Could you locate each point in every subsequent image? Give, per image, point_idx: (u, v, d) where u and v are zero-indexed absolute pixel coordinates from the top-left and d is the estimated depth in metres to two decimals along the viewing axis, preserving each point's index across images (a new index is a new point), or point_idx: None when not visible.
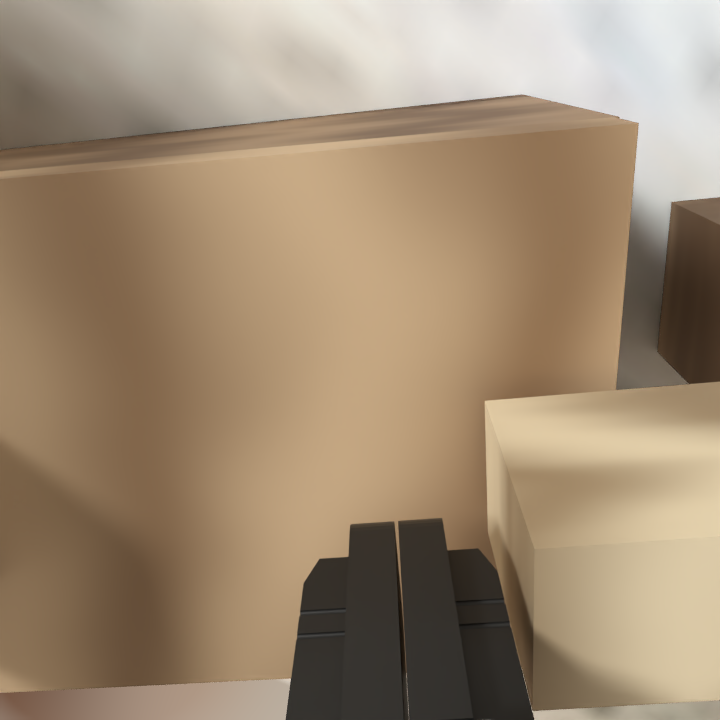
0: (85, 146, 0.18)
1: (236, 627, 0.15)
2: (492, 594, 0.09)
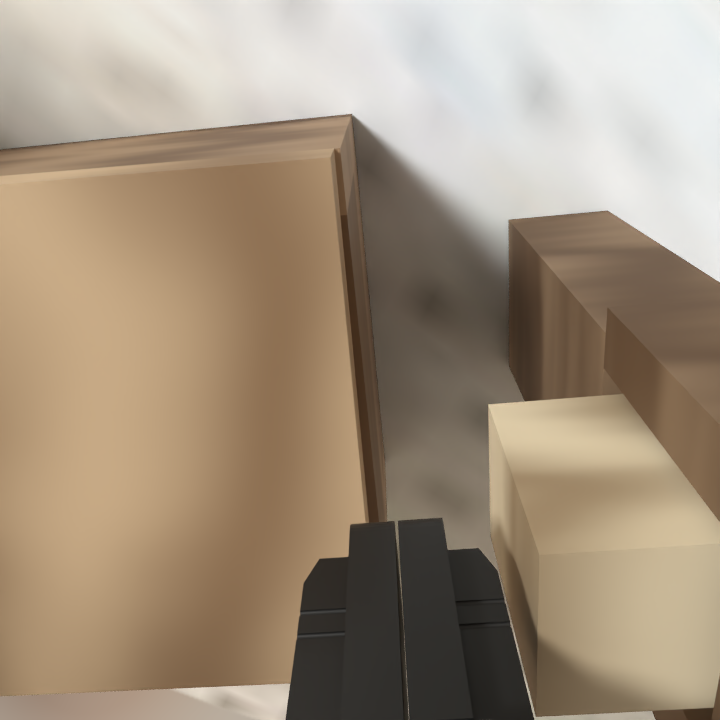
0: None
1: (25, 642, 0.15)
2: (492, 594, 0.09)
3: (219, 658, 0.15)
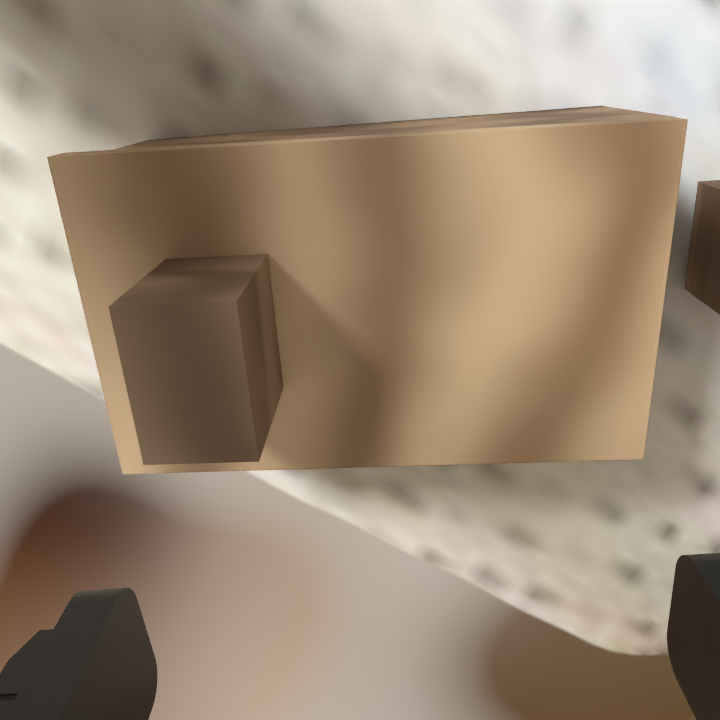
0: (319, 130, 0.27)
1: (423, 425, 0.24)
2: None
3: (543, 440, 0.25)
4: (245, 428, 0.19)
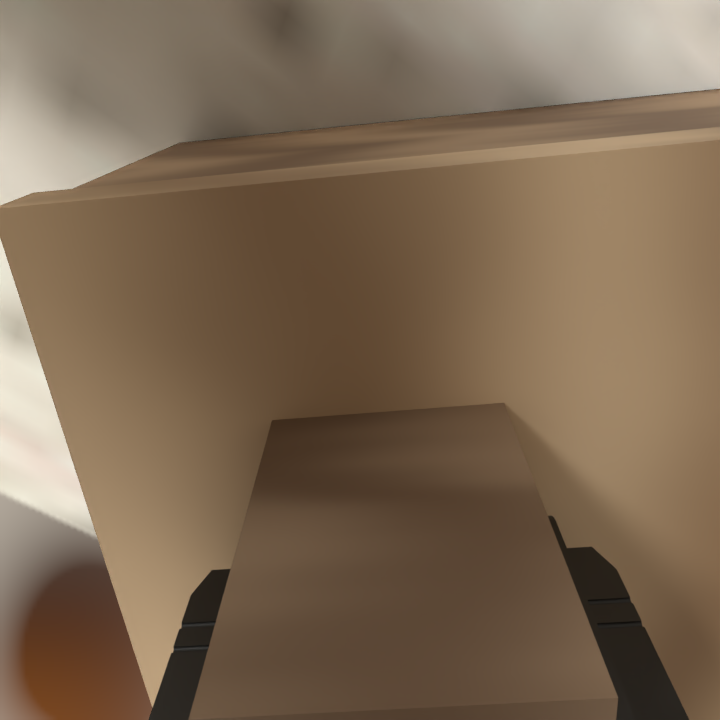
0: (500, 118, 0.15)
1: None
2: (617, 593, 0.09)
3: None
4: None
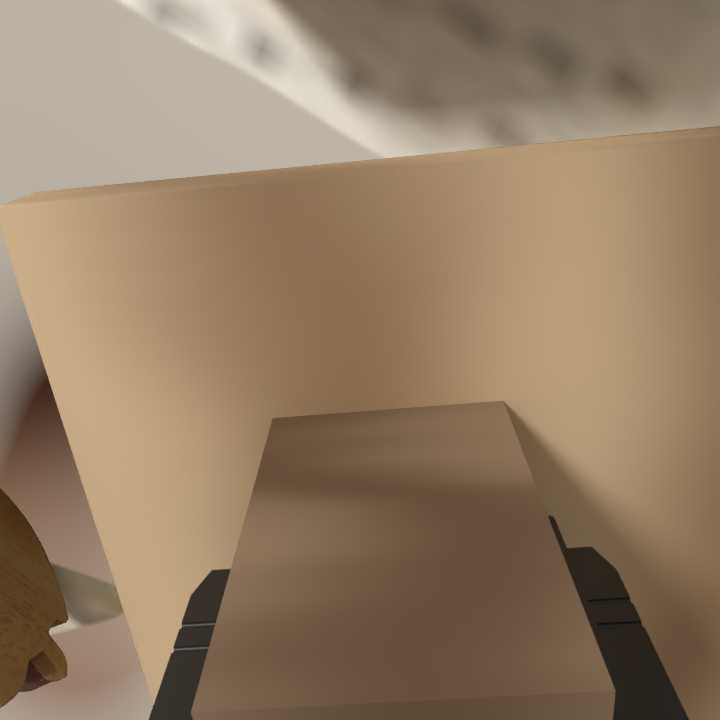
0: None
1: None
2: (617, 593, 0.09)
3: None
4: None
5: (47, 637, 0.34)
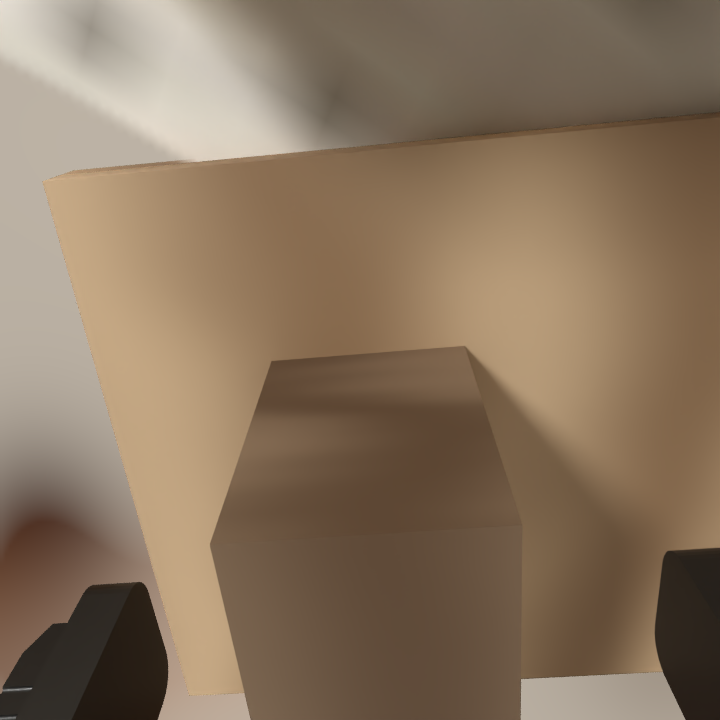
0: None
1: None
2: None
3: None
4: None
5: None
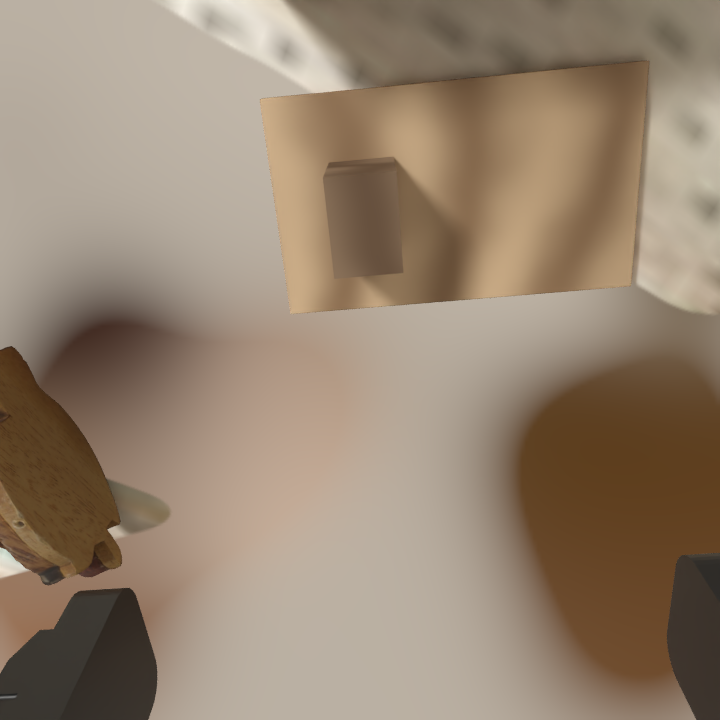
0: None
1: (489, 269, 0.38)
2: None
3: (566, 276, 0.38)
4: (396, 251, 0.33)
5: (106, 531, 0.42)
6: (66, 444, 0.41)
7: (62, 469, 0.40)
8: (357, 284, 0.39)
